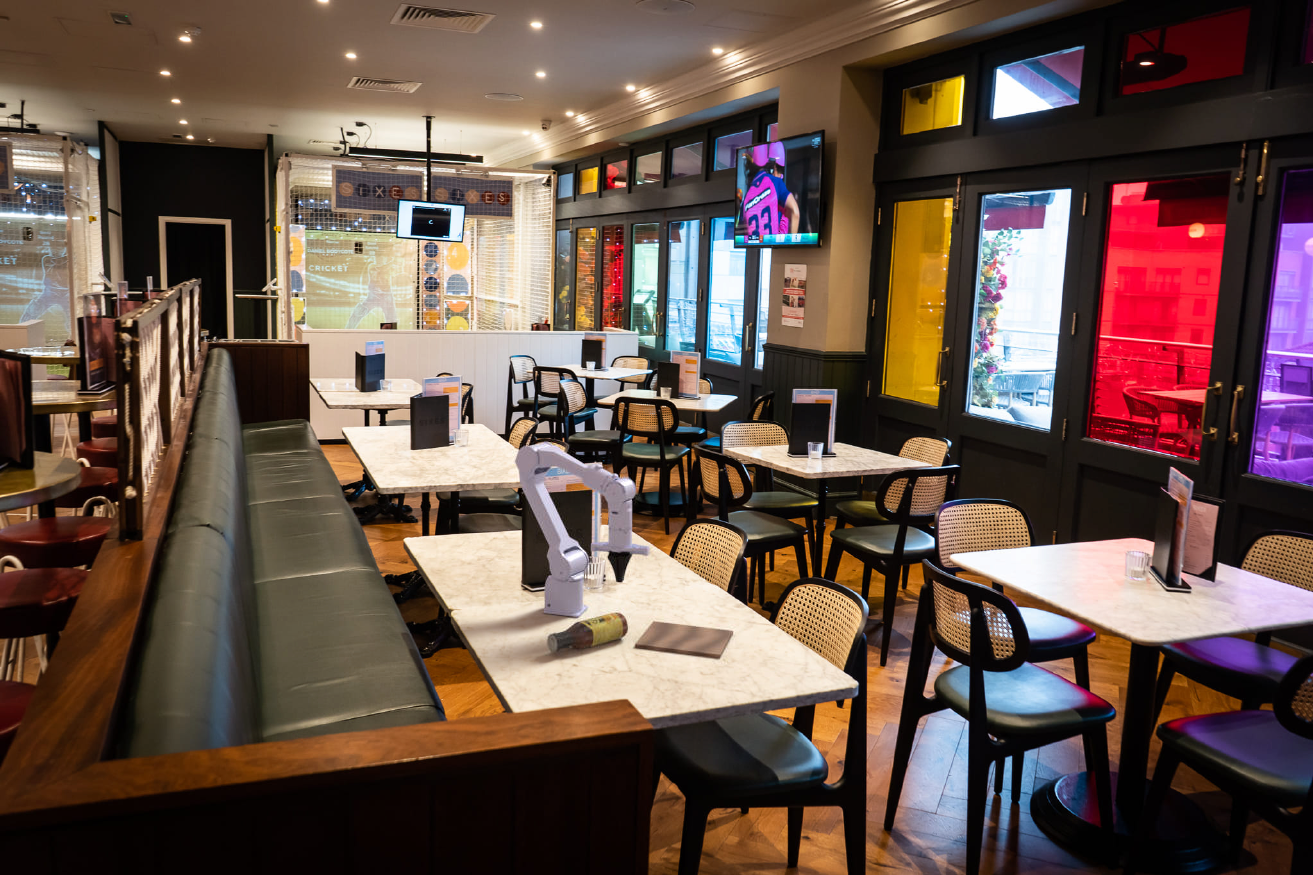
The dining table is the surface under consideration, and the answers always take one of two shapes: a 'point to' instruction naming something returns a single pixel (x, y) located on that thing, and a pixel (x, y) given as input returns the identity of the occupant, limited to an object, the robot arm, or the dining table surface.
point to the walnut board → (685, 639)
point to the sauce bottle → (590, 632)
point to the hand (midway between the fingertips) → (619, 581)
